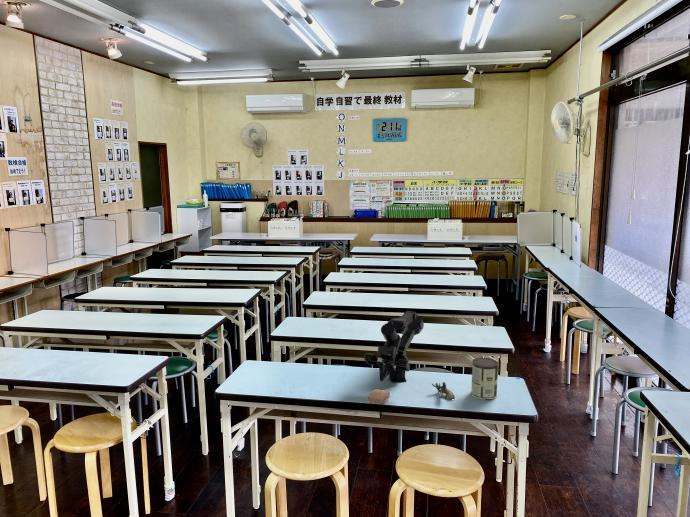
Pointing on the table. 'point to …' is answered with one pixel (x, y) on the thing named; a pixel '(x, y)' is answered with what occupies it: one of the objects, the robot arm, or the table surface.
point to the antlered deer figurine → (444, 391)
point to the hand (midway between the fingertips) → (381, 381)
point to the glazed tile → (378, 396)
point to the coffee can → (484, 378)
